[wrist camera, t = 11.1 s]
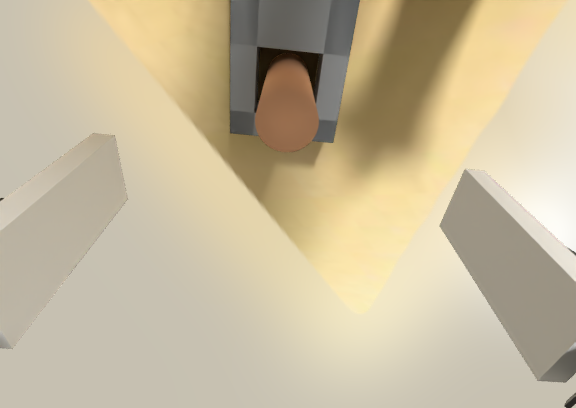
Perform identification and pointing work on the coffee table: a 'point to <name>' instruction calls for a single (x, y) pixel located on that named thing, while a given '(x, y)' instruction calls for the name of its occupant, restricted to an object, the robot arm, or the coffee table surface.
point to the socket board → (290, 36)
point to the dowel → (287, 105)
